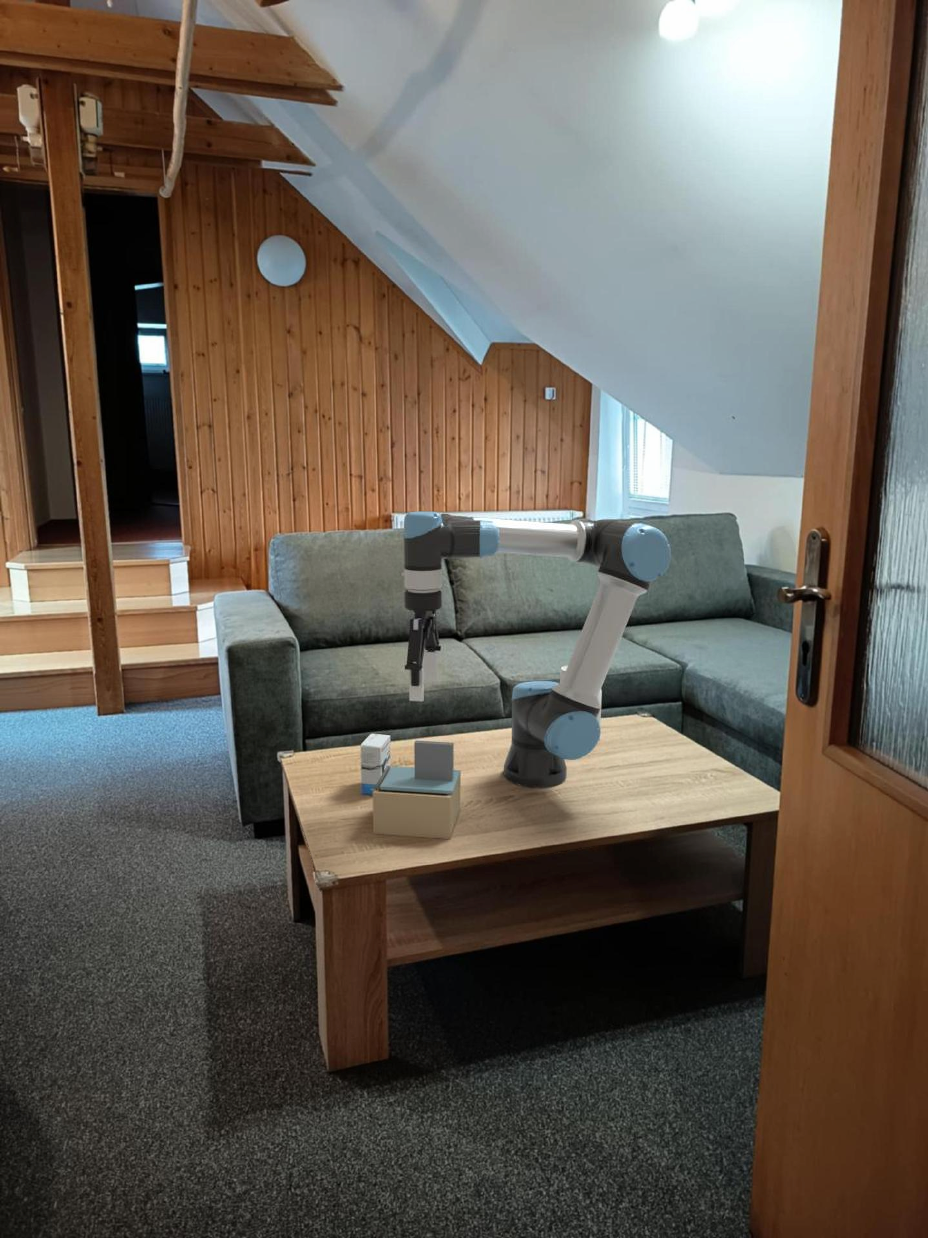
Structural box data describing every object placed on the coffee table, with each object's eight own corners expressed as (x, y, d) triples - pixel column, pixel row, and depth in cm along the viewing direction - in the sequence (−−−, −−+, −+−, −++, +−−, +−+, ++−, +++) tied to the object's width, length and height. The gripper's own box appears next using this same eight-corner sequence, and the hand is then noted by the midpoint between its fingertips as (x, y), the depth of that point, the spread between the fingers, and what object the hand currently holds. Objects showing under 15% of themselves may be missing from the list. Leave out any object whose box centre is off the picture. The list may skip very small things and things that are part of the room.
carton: (460, 810, 187) (460, 771, 185) (450, 839, 173) (450, 797, 171) (388, 805, 189) (388, 767, 187) (373, 833, 175) (372, 792, 173)
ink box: (381, 796, 194) (380, 747, 191) (360, 794, 195) (359, 745, 192) (391, 781, 202) (391, 734, 199) (371, 779, 203) (371, 732, 200)
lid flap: (460, 773, 183) (460, 735, 181) (452, 794, 173) (452, 753, 171) (386, 769, 185) (386, 730, 184) (374, 789, 175) (373, 749, 173)
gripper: (418, 578, 184) (419, 673, 189) (389, 600, 160) (391, 708, 165) (452, 579, 183) (452, 675, 188) (428, 601, 159) (429, 710, 163)
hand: (423, 690), depth 176 cm, fingers open, 13 cm apart
